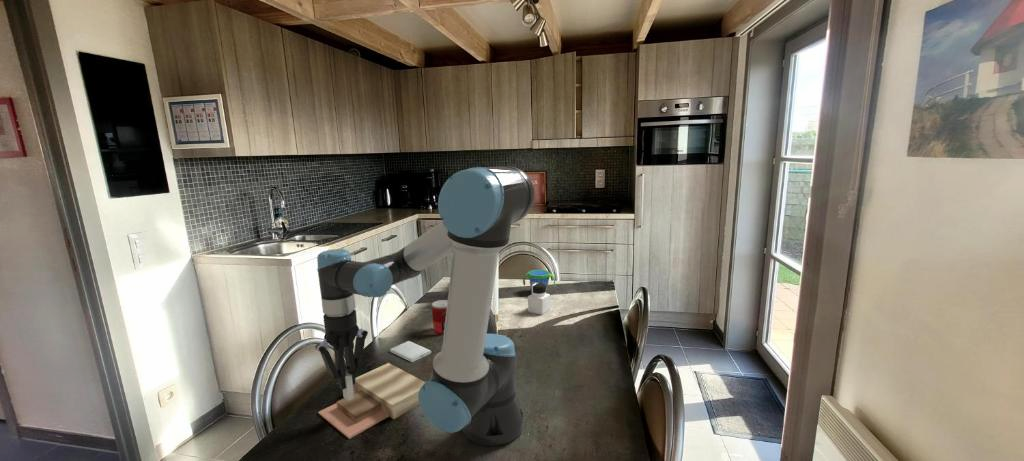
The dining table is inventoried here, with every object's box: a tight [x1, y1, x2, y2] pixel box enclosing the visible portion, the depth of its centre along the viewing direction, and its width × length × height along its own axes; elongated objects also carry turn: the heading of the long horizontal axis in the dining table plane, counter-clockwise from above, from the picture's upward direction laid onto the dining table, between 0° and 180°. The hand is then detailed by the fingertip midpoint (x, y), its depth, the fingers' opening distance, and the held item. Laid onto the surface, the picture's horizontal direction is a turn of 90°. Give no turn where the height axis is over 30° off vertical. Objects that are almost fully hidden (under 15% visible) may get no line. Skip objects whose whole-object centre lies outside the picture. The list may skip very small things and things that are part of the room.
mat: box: [317, 402, 390, 440], centre depth 107 cm, size 16×11×1 cm
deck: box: [353, 362, 426, 420], centre depth 115 cm, size 20×12×4 cm, turn 50°
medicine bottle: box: [527, 283, 551, 316], centre depth 174 cm, size 7×7×12 cm
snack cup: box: [522, 269, 556, 294], centre depth 198 cm, size 16×10×10 cm
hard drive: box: [389, 340, 432, 363], centre depth 141 cm, size 2×8×12 cm
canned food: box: [431, 299, 448, 335], centre depth 157 cm, size 8×8×11 cm
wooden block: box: [336, 390, 381, 423], centre depth 109 cm, size 10×7×2 cm
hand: (348, 397), depth 106 cm, fingers closed
